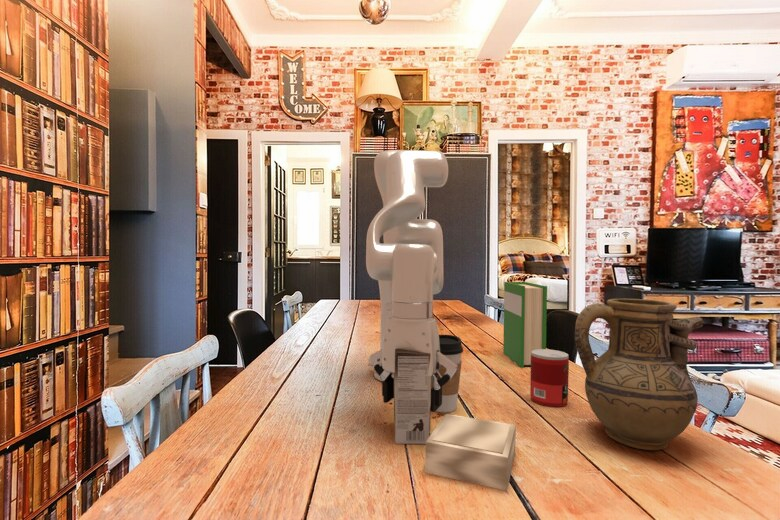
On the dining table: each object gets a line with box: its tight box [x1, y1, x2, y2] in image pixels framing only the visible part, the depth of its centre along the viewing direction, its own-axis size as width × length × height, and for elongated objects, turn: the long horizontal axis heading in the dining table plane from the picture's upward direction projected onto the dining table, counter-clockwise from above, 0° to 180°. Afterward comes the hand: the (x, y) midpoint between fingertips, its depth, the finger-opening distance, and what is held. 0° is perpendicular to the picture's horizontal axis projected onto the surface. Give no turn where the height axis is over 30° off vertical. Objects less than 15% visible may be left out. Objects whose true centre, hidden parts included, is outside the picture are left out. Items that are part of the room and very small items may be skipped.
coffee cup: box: [431, 334, 464, 413], centre depth 89 cm, size 8×8×15 cm
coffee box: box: [393, 349, 431, 445], centre depth 76 cm, size 9×6×16 cm
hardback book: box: [502, 281, 548, 369], centre depth 129 cm, size 18×7×24 cm, turn 1°
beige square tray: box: [424, 413, 517, 491], centre depth 66 cm, size 12×12×5 cm
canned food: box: [529, 348, 570, 408], centre depth 93 cm, size 8×8×11 cm
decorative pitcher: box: [574, 298, 705, 451], centre depth 74 cm, size 22×18×25 cm
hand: (411, 404), depth 76 cm, fingers closed on coffee box, 8 cm apart
